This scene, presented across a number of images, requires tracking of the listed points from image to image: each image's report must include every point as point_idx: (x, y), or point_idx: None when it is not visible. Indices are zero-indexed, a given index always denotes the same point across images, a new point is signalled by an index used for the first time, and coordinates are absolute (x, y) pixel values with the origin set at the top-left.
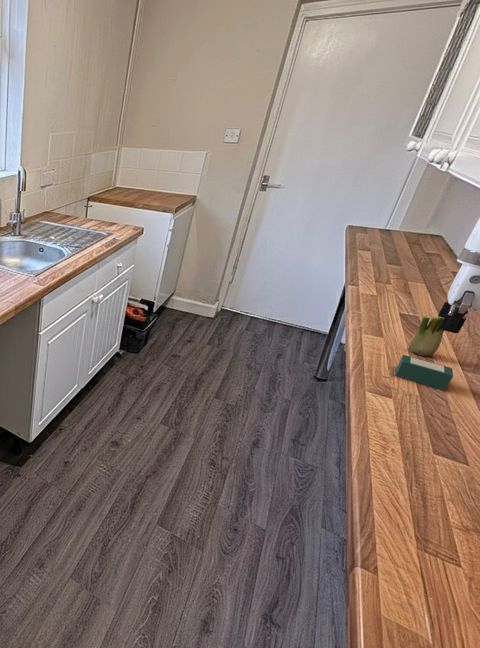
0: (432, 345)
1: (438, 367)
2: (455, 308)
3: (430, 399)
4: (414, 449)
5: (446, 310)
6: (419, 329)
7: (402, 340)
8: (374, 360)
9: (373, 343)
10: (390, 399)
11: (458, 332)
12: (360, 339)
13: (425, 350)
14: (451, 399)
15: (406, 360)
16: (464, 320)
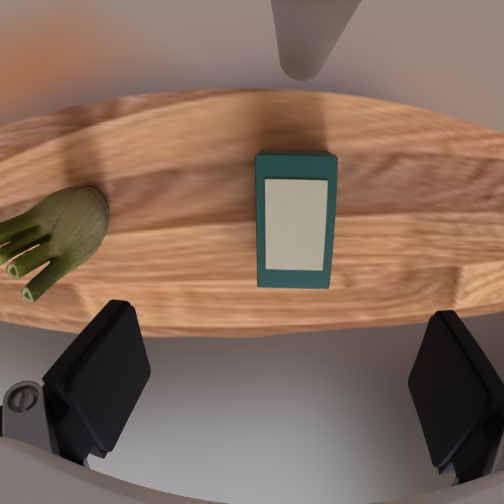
0: (80, 208)
1: (294, 195)
2: (97, 392)
3: (414, 189)
4: None
5: (124, 396)
6: (64, 272)
7: None
8: (248, 305)
9: None
10: (465, 268)
11: (452, 311)
12: None
13: (100, 212)
14: (374, 140)
15: (308, 279)
16: (502, 388)
